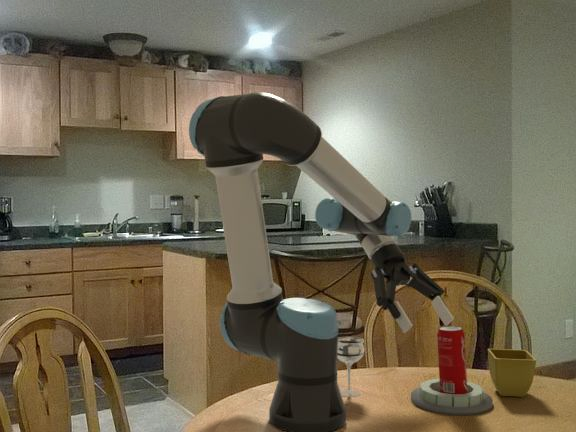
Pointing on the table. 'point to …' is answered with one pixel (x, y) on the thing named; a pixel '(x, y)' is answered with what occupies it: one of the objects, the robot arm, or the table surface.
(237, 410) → the table surface
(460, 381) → the beverage can
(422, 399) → the can tray
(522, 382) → the flower pot
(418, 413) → the table surface
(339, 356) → the wineglass
